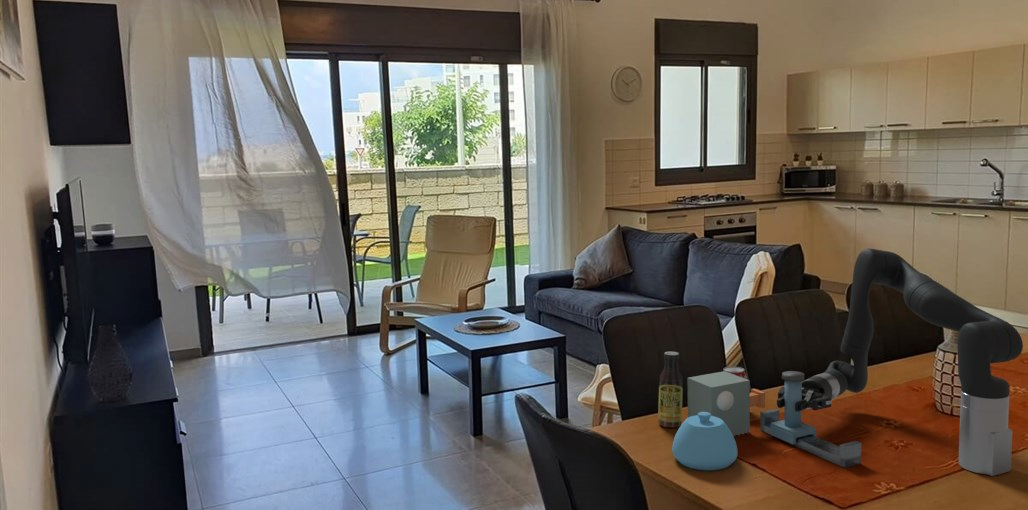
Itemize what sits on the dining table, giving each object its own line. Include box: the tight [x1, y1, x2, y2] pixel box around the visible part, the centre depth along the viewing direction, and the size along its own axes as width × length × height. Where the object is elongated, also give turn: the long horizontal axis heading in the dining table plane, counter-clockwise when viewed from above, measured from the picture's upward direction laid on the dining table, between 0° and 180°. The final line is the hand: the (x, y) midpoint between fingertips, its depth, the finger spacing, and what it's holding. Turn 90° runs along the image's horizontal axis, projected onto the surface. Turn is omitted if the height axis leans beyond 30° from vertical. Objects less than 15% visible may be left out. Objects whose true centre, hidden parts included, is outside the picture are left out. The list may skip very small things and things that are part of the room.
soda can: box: [722, 365, 748, 380], centre depth 219 cm, size 7×7×12 cm
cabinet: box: [686, 370, 751, 437], centre depth 203 cm, size 11×12×14 cm
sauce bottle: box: [657, 351, 684, 429], centre depth 209 cm, size 7×6×20 cm
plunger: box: [750, 388, 766, 409], centre depth 203 cm, size 4×8×4 cm, turn 113°
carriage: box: [770, 370, 817, 445], centre depth 195 cm, size 8×7×16 cm
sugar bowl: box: [671, 412, 738, 471], centre depth 185 cm, size 15×15×12 cm
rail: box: [759, 408, 862, 469], centre depth 191 cm, size 28×5×5 cm, turn 23°
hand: (787, 405), depth 193 cm, fingers closed on carriage, 4 cm apart
